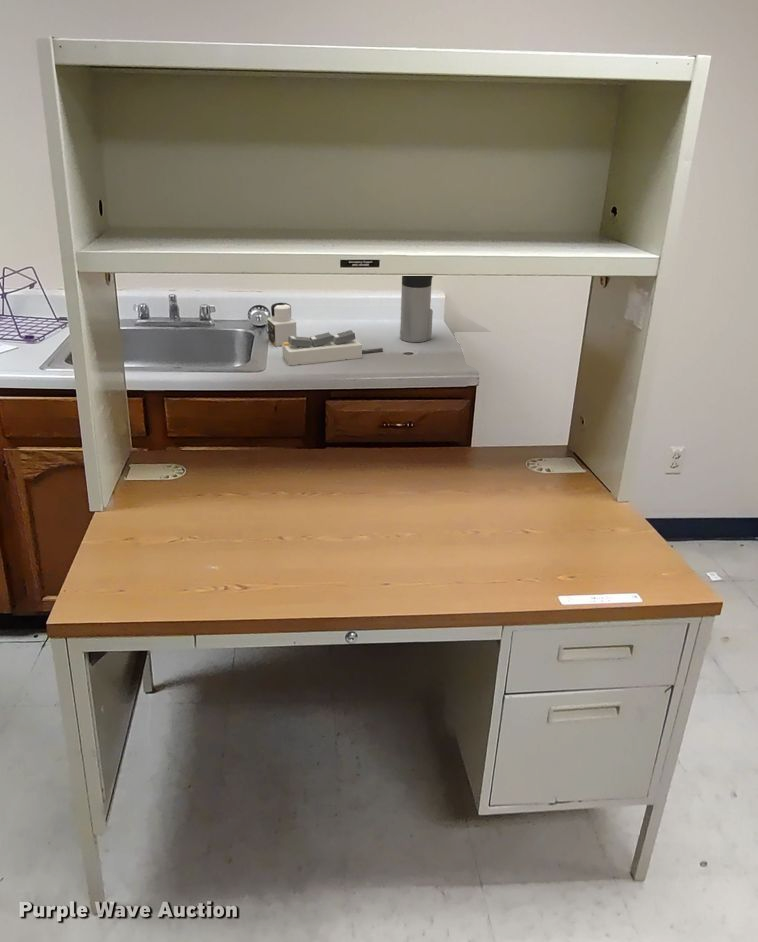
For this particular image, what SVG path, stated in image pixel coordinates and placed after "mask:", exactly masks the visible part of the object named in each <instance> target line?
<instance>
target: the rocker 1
mask: <svg viewBox="0 0 758 942" xmlns="http://www.w3.org/2000/svg"><path fill="white" fill-rule="evenodd" d="M288 343H289V344H290V345H292V346H305V347H311V343H312V341H311V340H310V338H309V337H307V336H298V335H297V336H289V337H288Z"/></svg>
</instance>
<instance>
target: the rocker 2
mask: <svg viewBox="0 0 758 942" xmlns="http://www.w3.org/2000/svg"><path fill="white" fill-rule="evenodd" d="M331 335H332V337H333V341H334V342H335V343H336V344H340V343H344V342H347V341H351V340H354V339H356V338H357V337H356V333H355V332H354V331H353V330H351V329H350V330H347V331H343V332H339V333H335V334H331ZM356 340H357V339H356Z"/></svg>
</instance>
